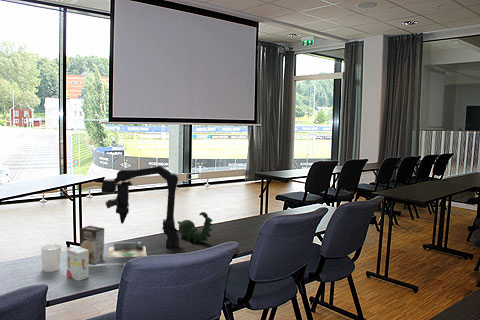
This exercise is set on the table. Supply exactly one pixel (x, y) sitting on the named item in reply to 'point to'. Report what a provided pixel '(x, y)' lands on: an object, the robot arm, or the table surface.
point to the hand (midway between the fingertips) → (122, 223)
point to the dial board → (126, 252)
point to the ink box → (77, 263)
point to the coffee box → (93, 243)
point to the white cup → (51, 257)
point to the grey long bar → (129, 245)
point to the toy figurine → (195, 229)
